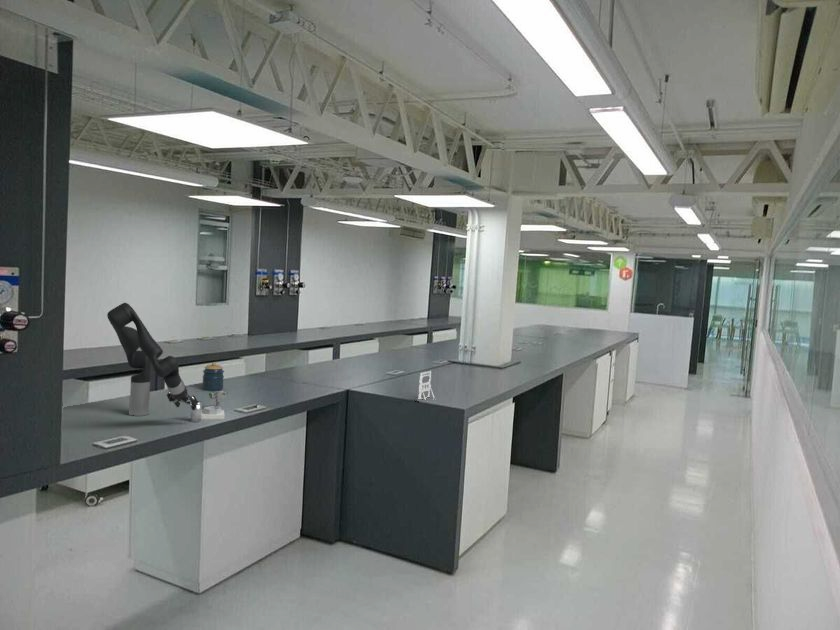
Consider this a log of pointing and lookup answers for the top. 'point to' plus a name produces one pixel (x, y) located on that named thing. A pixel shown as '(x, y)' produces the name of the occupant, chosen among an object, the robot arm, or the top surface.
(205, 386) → the canister
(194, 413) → the clear glass jar
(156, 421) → the top surface
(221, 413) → the flange plate
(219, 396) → the mechanical component
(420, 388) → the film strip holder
